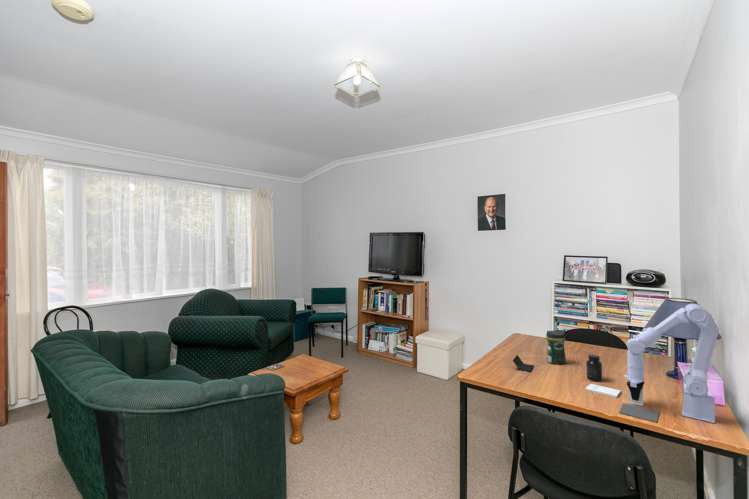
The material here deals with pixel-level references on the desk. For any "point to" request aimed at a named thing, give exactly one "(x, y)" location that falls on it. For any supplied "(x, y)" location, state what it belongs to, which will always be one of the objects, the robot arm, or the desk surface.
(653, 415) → the mat
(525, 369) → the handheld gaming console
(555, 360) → the coffee jar
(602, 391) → the external hard drive
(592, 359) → the supplement bottle
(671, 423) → the desk surface
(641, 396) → the slab
